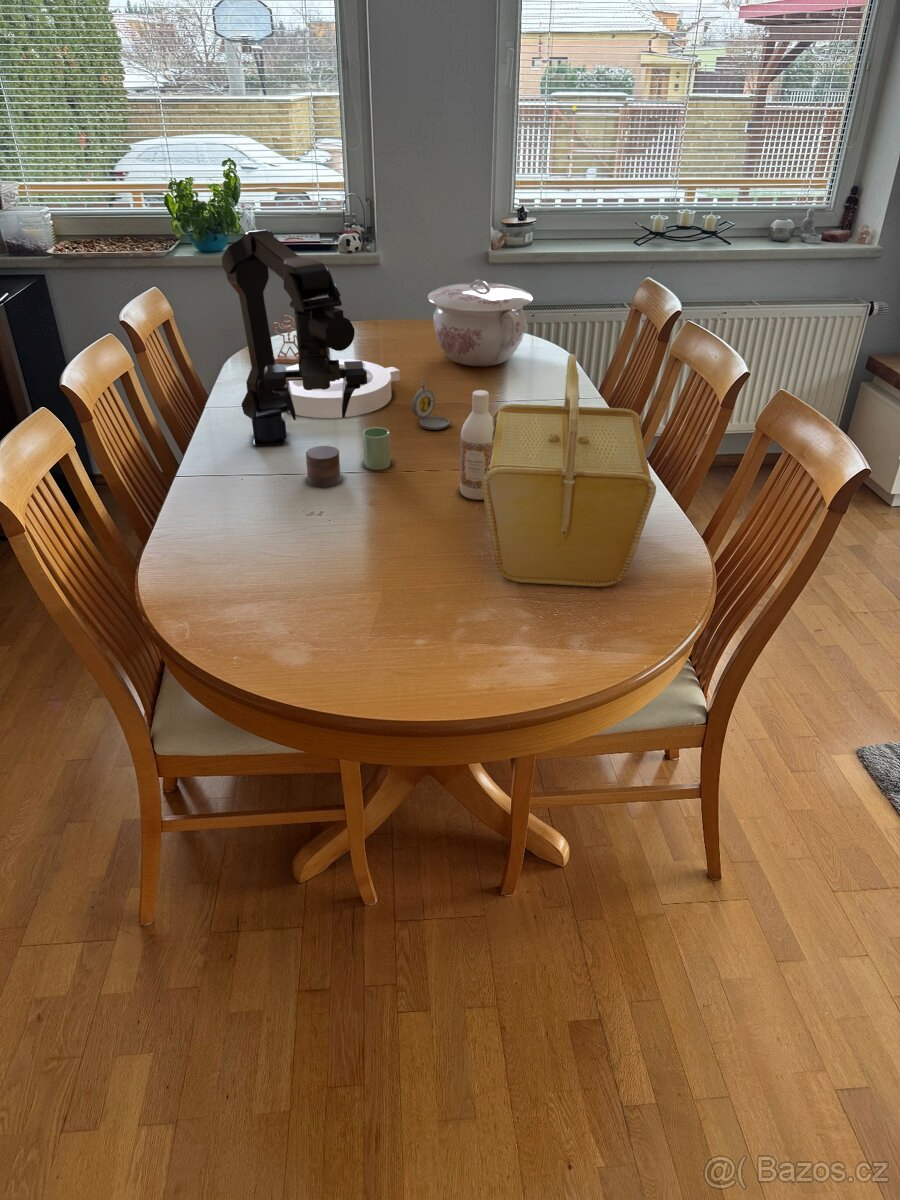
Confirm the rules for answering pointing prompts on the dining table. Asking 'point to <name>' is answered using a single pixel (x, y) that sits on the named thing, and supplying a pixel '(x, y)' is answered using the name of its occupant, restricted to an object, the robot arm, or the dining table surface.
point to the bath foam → (475, 446)
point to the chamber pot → (479, 321)
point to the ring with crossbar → (330, 399)
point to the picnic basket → (566, 491)
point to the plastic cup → (376, 448)
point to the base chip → (324, 481)
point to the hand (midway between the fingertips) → (319, 418)
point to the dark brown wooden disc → (322, 457)
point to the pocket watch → (427, 409)
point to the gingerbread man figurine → (285, 357)
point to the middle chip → (323, 471)
